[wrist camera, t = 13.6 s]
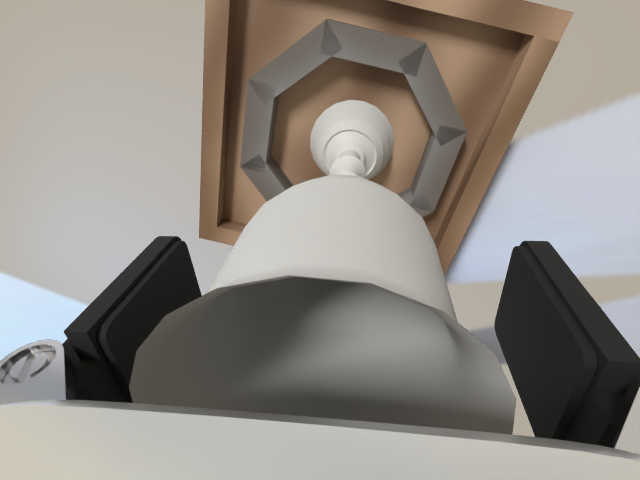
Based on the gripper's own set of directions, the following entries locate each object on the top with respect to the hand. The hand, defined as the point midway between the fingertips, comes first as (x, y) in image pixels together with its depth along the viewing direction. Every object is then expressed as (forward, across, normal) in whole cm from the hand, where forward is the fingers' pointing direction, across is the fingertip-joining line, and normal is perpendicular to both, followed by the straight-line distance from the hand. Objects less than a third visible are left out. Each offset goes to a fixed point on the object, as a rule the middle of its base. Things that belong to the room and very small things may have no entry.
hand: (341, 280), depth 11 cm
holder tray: (+14, +1, 0) cm, 14 cm away
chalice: (+14, 0, 0) cm, 14 cm away
